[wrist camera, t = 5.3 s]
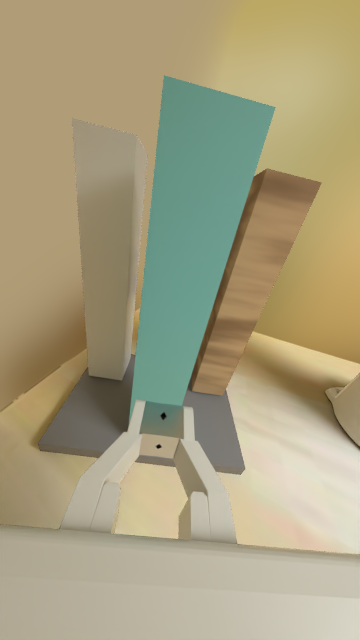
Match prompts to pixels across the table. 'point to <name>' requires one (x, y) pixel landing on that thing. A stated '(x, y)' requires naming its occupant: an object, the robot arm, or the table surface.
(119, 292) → the cream post
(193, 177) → the teal post
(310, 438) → the table surface
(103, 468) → the robot arm
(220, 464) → the board
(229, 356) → the walnut post
